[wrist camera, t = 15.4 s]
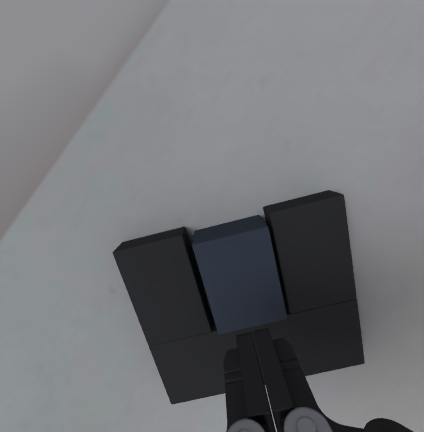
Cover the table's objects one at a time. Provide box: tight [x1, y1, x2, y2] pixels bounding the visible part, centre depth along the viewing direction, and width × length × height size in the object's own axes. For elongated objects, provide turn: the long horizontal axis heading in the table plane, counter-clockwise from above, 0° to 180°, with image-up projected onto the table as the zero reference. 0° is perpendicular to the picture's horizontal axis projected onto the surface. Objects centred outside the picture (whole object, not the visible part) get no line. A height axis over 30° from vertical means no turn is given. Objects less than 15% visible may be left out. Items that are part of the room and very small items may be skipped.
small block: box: [192, 215, 287, 334], centre depth 18 cm, size 7×5×3 cm
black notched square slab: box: [113, 190, 365, 404], centre depth 19 cm, size 14×16×2 cm
